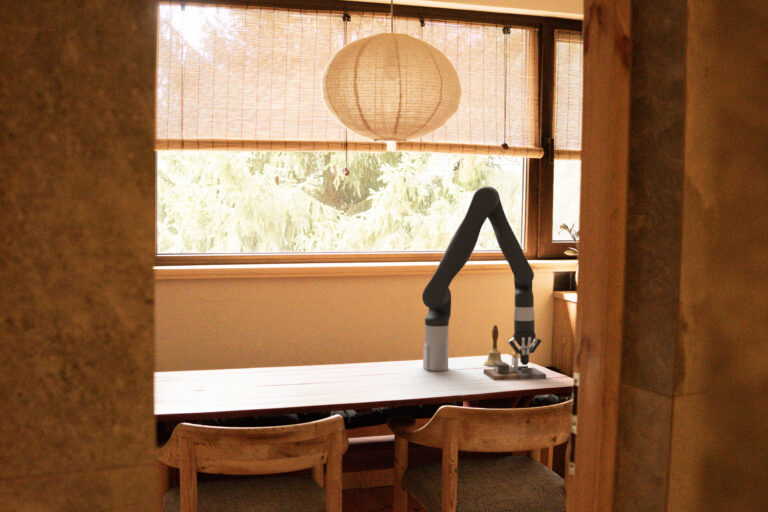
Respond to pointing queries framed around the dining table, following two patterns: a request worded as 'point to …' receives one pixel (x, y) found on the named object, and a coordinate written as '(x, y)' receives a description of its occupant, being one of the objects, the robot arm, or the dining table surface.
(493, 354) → the hand bell
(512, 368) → the bolt
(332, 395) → the dining table surface
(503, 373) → the lock plate
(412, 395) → the dining table surface
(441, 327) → the robot arm
